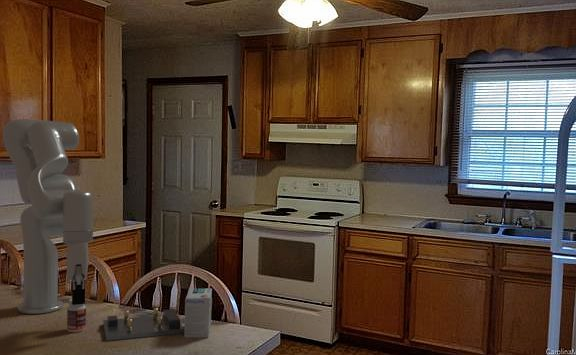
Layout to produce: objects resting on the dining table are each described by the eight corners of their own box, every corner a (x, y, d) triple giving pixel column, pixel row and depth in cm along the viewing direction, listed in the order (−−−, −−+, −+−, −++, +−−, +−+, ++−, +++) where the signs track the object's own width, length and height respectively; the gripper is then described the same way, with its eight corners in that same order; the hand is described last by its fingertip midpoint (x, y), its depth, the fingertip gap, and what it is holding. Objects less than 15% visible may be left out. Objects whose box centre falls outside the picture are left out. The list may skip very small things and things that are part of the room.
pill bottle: (79, 333, 142) (79, 302, 141) (63, 331, 143) (63, 300, 142) (89, 327, 146) (89, 297, 146) (73, 326, 147) (74, 296, 147)
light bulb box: (187, 325, 151) (188, 287, 151) (211, 325, 152) (212, 287, 151) (183, 338, 140) (184, 297, 140) (209, 338, 141) (210, 297, 141)
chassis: (103, 324, 149) (103, 309, 149) (174, 318, 157) (174, 304, 157) (106, 340, 136) (106, 324, 136) (183, 333, 144) (184, 317, 144)
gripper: (63, 233, 150) (63, 294, 150) (62, 241, 134) (62, 309, 134) (91, 232, 153) (91, 292, 153) (94, 240, 137) (94, 306, 137)
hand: (78, 299), depth 143 cm, fingers open, 9 cm apart
